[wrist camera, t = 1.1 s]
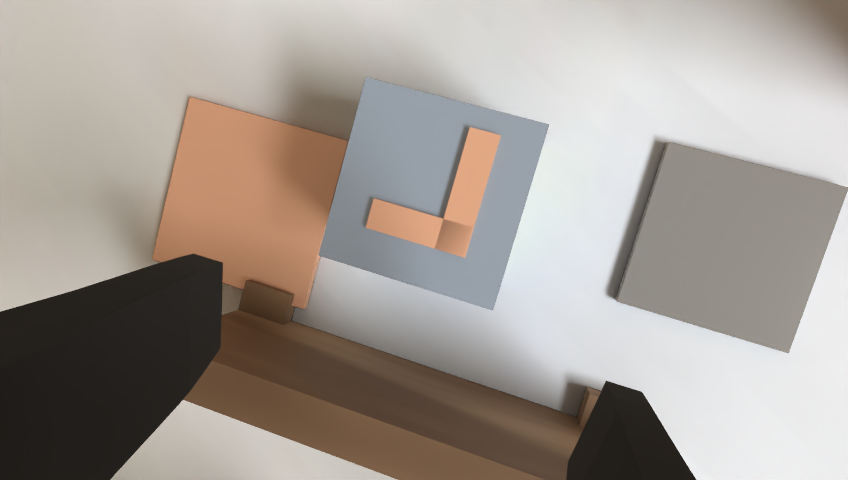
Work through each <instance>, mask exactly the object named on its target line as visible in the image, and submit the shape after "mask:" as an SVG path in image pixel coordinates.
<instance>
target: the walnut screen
mask: <svg viewBox="0 0 848 480" xmlns="http://www.w3.org/2000/svg"><path fill="white" fill-rule="evenodd" d="M294 295H295V294H294V293H291V292H287V291H284V290H281V289H278V288H275V287H272V286H269V285H266V284H263V283H260V282H257V281H254V280H251V279H250V280H246V281H245V285H244V289H243V293H242V297H241V301H240V305H239V309H238V310H236V311H234V312H231V313H228V314H225V315H222V316H221V348H220V349H219V351H218V352H217V354H216V355H215V357H214V358H213V360H212V361H211V363H210V364H209V366H208V367H207V369H206V370H205V372H204V373H203V374H202V376H201V377H200V378H199V380H198V381H197V383H196V384H195V385H194V387H193V388H192V389H191V391H190V392H189V393H188V394H187V396H186V397H185V398H184V399H183V400H186V401H188V402H191V403H194V404H196V405H199V406H202V407H204V408H207V409H210V410H212V411H215V412H218V413H221V414H223V415H226V416H229V417H231V418H234V419H237V420H239V421H242V422H245V423H247V424H250V425H253V426H255V427H258V428H261V429H264V430H266V431H269V432H272V433H274V434H277V435H280V436H282V437H285V438H288V439H290V440H293V441H296V442H298V443H301V444H304V445H306V446H309V447H312V448H315V449H317V450H320V451H323V452H325V453H328V454H331V455H333V456H336V457H339V458H341V459H344V460H347V461H349V462H352V463H355V464H358V465H360V466H363V467H366V468H368V469H371V470H374V471H376V472H379V473H382V474H384V475H387V476H390V477H392V478H395V479H398V480H566V477H567V466H568V461H569V458H570V456H571V454H572V452H573V450H574V448H575V446H576V444H577V442H578V439H579V437H580V435H581V433H582V431H583V429H584V427H585V425H586V423H587V420H588V418H589V416H590V414H591V412H592V410H593V408H594V406H595V404H596V401H597V399H598V397H599V395H600V393H601V391H598V390H595V389H592V388H589V387H587V388H586V392H585V395H584V398H583V401H582V404H581V407H580V410H579V413H578V416H577V417H575V416H572V415H569V414H566V413H563V412H560V411H557V410H554V409H551V408H548V407H545V406H542V405H539V404H536V403H533V402H530V401H527V400H524V399H521V398H518V397H515V396H512V395H509V394H507V393H504V392H501V391H498V390H495V389H492V388H489V387H486V386H483V385H480V384H477V383H474V382H471V381H468V380H465V379H462V378H459V377H456V376H453V375H450V374H447V373H444V372H441V371H438V370H435V369H432V368H429V367H426V366H423V365H420V364H417V363H414V362H412V361H409V360H406V359H403V358H400V357H397V356H394V355H391V354H388V353H385V352H382V351H379V350H376V349H373V348H370V347H367V346H364V345H361V344H358V343H355V342H352V341H349V340H346V339H343V338H340V337H337V336H334V335H331V334H328V333H325V332H322V331H320V330H317V329H314V328H311V327H308V326H305V325H302V324H299V323H296V322H293V321H291V320H292V316H293V312H294V309H295V306H292V303H293V299H294Z"/></svg>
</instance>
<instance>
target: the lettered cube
mask: <svg viewBox="0 0 848 480" xmlns="http://www.w3.org/2000/svg"><path fill="white" fill-rule="evenodd" d="M548 127H549V124H546V123H542V122H538V121H534V120H530V119H526V118H522V117H519V116H515V115H511V114H507V113H503V112H499V111H495V110H491V109H488V108H484V107H480V106H476V105H472V104H468V103H464V102H461V101H457V100H453V99H449V98H445V97H441V96H437V95H434V94H430V93H426V92H422V91H418V90H414V89H410V88H407V87H403V86H399V85H395V84H391V83H387V82H383V81H379V80H376V79H372V78H368V77H366V78H365V82H364V86H363V89H362V93H361V97H360V101H359V104H358V108H357V112H356V116H355V120H354V123H353V127H352V131H351V135H350V138H349V142H348V146H347V150H346V153H345V157H344V161H343V165H342V169H341V172H340V176H339V180H338V184H337V187H336V191H335V195H334V199H333V202H332V206H331V210H330V214H329V218H328V221H327V225H326V229H325V233H324V236H323V240H322V244H321V248H320V251H319V256H322V257H325V258H329V259H332V260H335V261H338V262H341V263H344V264H348V265H351V266H354V267H357V268H360V269H363V270H367V271H370V272H373V273H376V274H379V275H382V276H386V277H389V278H392V279H395V280H398V281H401V282H405V283H408V284H411V285H414V286H417V287H420V288H424V289H427V290H430V291H433V292H436V293H439V294H443V295H446V296H449V297H452V298H455V299H458V300H462V301H465V302H468V303H471V304H474V305H477V306H481V307H484V308H487V309H490V310H493V308H494V305H495V302H496V299H497V295H498V292H499V289H500V285H501V282H502V279H503V275H504V272H505V269H506V266H507V262H508V259H509V256H510V252H511V249H512V246H513V242H514V239H515V236H516V232H517V229H518V226H519V223H520V219H521V216H522V213H523V209H524V206H525V203H526V199H527V196H528V193H529V190H530V186H531V183H532V180H533V176H534V173H535V170H536V166H537V163H538V160H539V157H540V153H541V150H542V147H543V143H544V140H545V137H546V133H547V130H548Z"/></svg>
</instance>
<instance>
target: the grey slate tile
mask: <svg viewBox="0 0 848 480" xmlns="http://www.w3.org/2000/svg"><path fill="white" fill-rule="evenodd" d="M847 191H848V187H844V186H840V185H837V184H833V183H829V182H825V181H821V180H817V179H813V178H809V177H805V176H801V175H797V174H793V173H789V172H785V171H782V170H778V169H774V168H770V167H766V166H762V165H758V164H754V163H750V162H746V161H742V160H738V159H734V158H731V157H727V156H723V155H719V154H715V153H711V152H707V151H703V150H699V149H695V148H691V147H687V146H683V145H679V144H676V143H672V142H668V143H666V145H665V149H664V152H663V155H662V158H661V161H660V164H659V167H658V170H657V173H656V176H655V179H654V182H653V185H652V188H651V192H650V195H649V198H648V201H647V204H646V207H645V210H644V213H643V216H642V219H641V222H640V225H639V228H638V232H637V235H636V238H635V241H634V244H633V247H632V250H631V253H630V256H629V259H628V262H627V265H626V268H625V272H624V275H623V278H622V281H621V284H620V287H619V290H618V293H617V296H616V299H615V300H616V301H617V302H620V303H624V304H627V305H630V306H634V307H637V308H640V309H644V310H647V311H650V312H654V313H657V314H660V315H663V316H667V317H670V318H673V319H677V320H680V321H683V322H687V323H690V324H693V325H697V326H700V327H703V328H707V329H710V330H713V331H716V332H720V333H723V334H726V335H730V336H733V337H736V338H740V339H743V340H746V341H750V342H753V343H756V344H760V345H763V346H766V347H770V348H773V349H776V350H779V351H783V352H786V353H789V351H790V348H791V345H792V342H793V340H794V337H795V334H796V331H797V329H798V326H799V323H800V320H801V318H802V315H803V312H804V309H805V307H806V304H807V301H808V298H809V296H810V293H811V290H812V287H813V284H814V282H815V279H816V276H817V273H818V271H819V268H820V265H821V262H822V260H823V257H824V254H825V251H826V249H827V246H828V243H829V240H830V238H831V235H832V232H833V229H834V227H835V224H836V221H837V218H838V216H839V213H840V210H841V207H842V204H843V202H844V199H845V196H846V193H847Z"/></svg>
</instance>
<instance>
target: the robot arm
mask: <svg viewBox="0 0 848 480" xmlns="http://www.w3.org/2000/svg"><path fill="white" fill-rule="evenodd" d="M222 281H223V262H220V261H216V260H213V259H210V258H207V257H203V256H200V255H197V254H190V255H185V256H181V257H178V258H174V259H171V260H168V261H164V262H161V263H158V264H155V265H152V266H149V267H146V268H142V269H139V270H136V271H133V272H130V273H127V274H124V275H121V276H118V277H115V278H112V279H109V280H105V281H102V282H99V283H96V284H93V285H90V286H87V287H84V288H81V289H78V290H74V291H71V292H68V293H64V294H61V295H57V296H54V297H50V298H47V299H43V300H40V301H36V302H33V303H29V304H26V305H22V306H19V307H16V308H12V309H9V310H5V311H2V312H0V480H110V479H111V478H112V477H113V476H114V475H115V473H116V472H117V471H118V470H119V469H120V468H121V467H122V466H123V465H124V464H125V463H126V461H127V460H128V459H129V458H130V457H131V456H132V455H133V454H134V453H135V452H136V451H137V449H138V448H139V447H140V446H141V445H142V444H143V443H144V442H145V441H146V440H147V439H148V438H149V436H150V435H151V434H152V433H153V432H154V431H155V430H156V429H157V428H158V427H159V426H160V424H161V423H162V422H163V421H164V420H165V419H166V418H167V417H168V416H169V415H170V413H171V412H172V411H173V410H174V409H175V408H176V407H177V406H178V405H179V403H180V402H181V401H182V400H183V399H184V398H185V397H186V396H187V394H188V393H189V392H190V391H191V389H192V388H193V387H194V385H195V384H196V383H197V381H198V380H199V378H200V377H201V376H202V374H203V373H204V372H205V370H206V369H207V367H208V366H209V364H210V363H211V361H212V360H213V358H214V357H215V355H216V354H217V352H218V351H219V349H220V348H221V315H222ZM566 480H696V479H695V477H694V476H693V474H692V472H691V471H690V469H689V468H688V466H687V464H686V463H685V461H684V460H683V458H682V456H681V455H680V453H679V451H678V450H677V448H676V447H675V445H674V443H673V442H672V440H671V438H670V437H669V435H668V434H667V432H666V430H665V429H664V427H663V425H662V424H661V422H660V420H659V419H658V417H657V415H656V414H655V412H654V410H653V409H652V407H651V406H650V404H649V402H648V401H647V399H646V398H645V396H644V395H643V393H642V392H640V391H637V390H634V389H631V388H627V387H624V386H621V385H618V384H614V383H611V382H608V381H606V382H605V385H604V387H603V389H602V391H601V393H600V395H599V397H598V399H597V401H596V404H595V406H594V408H593V410H592V412H591V414H590V416H589V418H588V420H587V423H586V425H585V427H584V429H583V431H582V433H581V435H580V437H579V439H578V442H577V444H576V446H575V448H574V450H573V452H572V454H571V456H570V458H569V461H568V466H567V477H566Z"/></svg>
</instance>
